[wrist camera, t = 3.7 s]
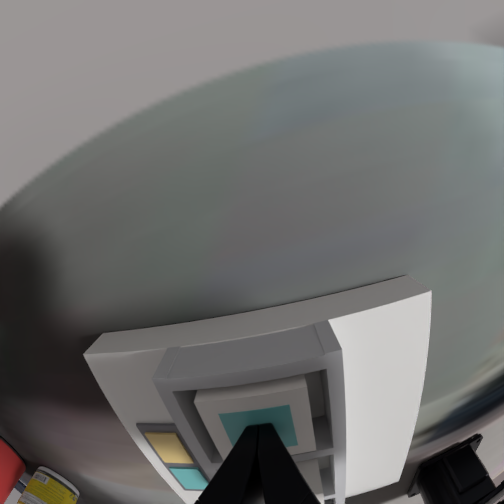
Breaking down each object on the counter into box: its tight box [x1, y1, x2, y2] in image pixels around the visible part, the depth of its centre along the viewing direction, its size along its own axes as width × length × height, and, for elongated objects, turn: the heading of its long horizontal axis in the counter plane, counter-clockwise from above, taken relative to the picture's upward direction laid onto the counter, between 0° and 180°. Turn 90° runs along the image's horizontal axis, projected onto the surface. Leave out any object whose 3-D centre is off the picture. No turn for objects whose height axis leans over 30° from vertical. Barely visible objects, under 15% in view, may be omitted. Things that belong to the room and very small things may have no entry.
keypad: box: [83, 275, 432, 504], centre depth 11 cm, size 14×14×4 cm
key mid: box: [295, 458, 324, 504], centre depth 9 cm, size 3×3×2 cm
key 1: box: [194, 374, 316, 460], centre depth 9 cm, size 3×3×2 cm
